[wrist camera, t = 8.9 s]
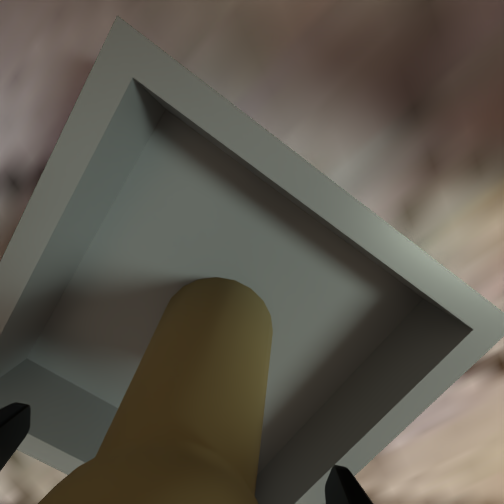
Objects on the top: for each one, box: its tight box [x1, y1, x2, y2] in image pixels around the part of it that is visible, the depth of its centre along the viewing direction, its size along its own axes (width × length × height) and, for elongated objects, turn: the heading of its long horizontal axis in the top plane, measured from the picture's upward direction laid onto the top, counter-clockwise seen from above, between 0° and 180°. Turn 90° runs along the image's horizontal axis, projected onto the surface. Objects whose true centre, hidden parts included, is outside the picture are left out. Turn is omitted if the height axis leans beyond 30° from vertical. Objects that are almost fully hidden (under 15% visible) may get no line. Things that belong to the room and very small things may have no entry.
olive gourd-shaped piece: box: [38, 277, 273, 504], centre depth 8 cm, size 6×6×11 cm
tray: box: [0, 16, 504, 504], centre depth 12 cm, size 18×18×4 cm
